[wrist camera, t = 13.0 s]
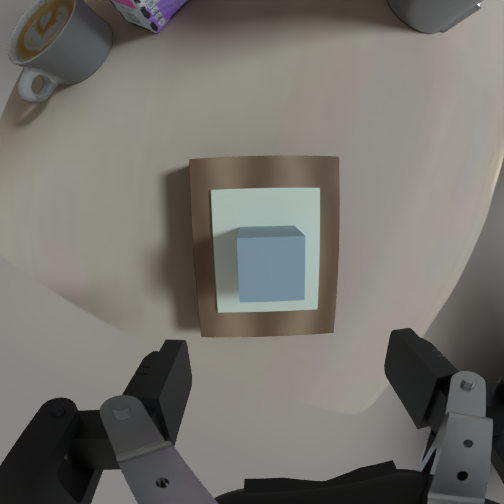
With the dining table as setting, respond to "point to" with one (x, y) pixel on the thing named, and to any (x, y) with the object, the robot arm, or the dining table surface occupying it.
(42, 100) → the coffee mug
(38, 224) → the dining table surface
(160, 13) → the candy box
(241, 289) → the slate block
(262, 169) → the walnut base
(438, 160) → the dining table surface
